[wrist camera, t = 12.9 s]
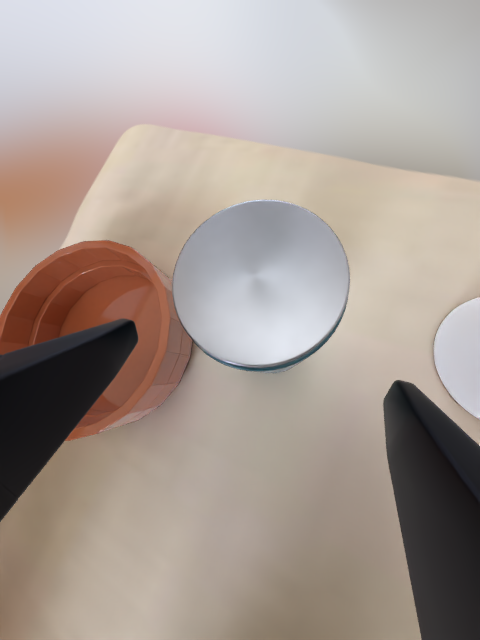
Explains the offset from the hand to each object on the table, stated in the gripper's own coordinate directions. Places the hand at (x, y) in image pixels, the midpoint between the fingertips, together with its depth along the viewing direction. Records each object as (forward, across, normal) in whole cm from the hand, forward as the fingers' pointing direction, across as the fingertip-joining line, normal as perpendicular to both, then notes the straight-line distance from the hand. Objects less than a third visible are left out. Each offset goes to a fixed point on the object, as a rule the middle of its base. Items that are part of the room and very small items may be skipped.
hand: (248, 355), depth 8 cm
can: (+8, 0, +5) cm, 10 cm away
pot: (+6, +12, +7) cm, 16 cm away
